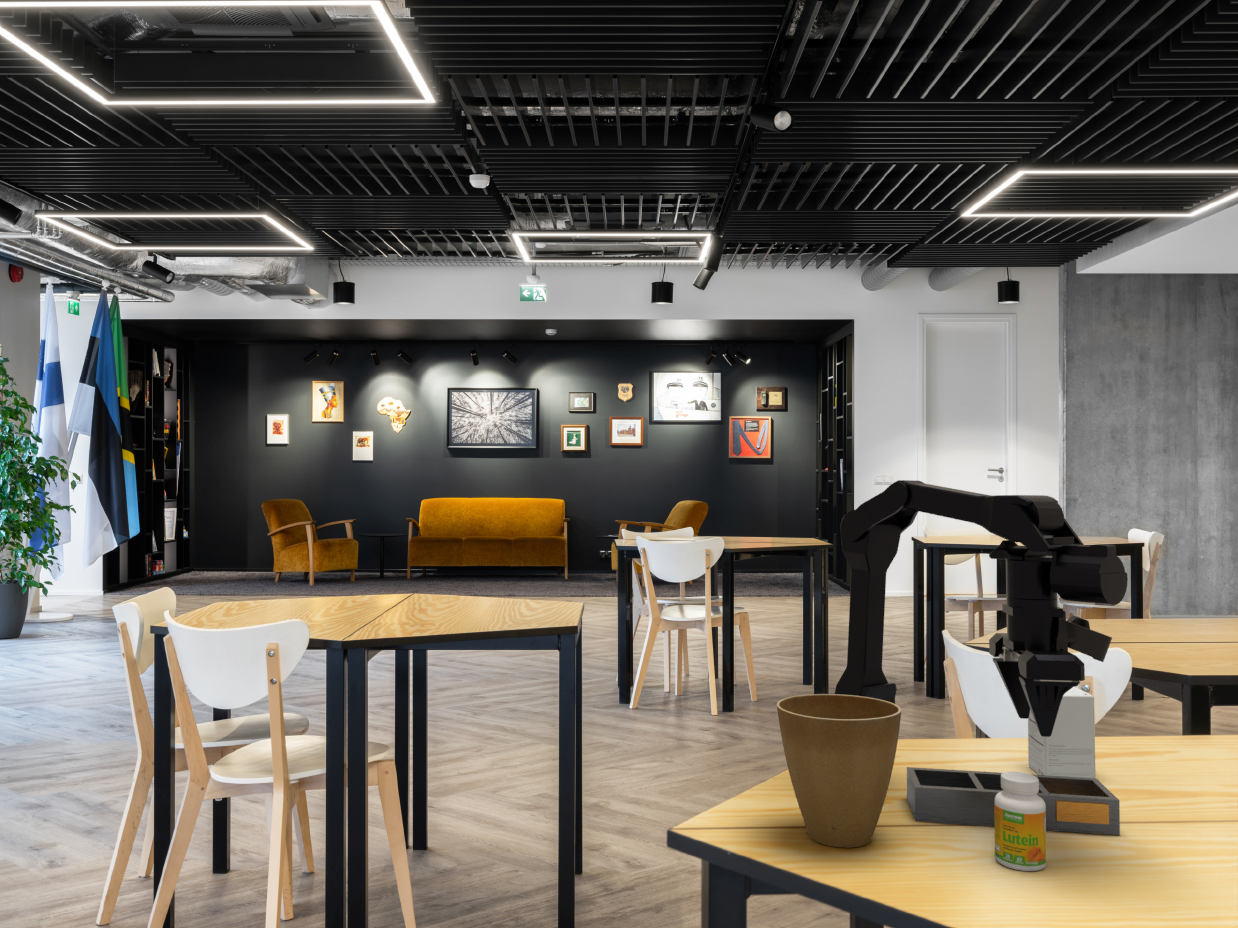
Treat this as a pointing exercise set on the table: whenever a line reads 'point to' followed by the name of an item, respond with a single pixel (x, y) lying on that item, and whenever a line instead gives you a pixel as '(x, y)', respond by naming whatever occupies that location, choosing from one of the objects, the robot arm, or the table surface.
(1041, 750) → the supplement box
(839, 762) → the plant pot
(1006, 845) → the supplement bottle
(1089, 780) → the compartment organizer tray
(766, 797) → the table surface
